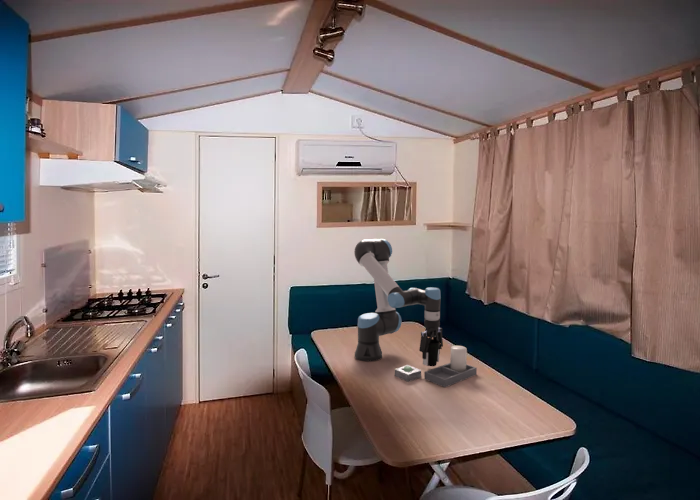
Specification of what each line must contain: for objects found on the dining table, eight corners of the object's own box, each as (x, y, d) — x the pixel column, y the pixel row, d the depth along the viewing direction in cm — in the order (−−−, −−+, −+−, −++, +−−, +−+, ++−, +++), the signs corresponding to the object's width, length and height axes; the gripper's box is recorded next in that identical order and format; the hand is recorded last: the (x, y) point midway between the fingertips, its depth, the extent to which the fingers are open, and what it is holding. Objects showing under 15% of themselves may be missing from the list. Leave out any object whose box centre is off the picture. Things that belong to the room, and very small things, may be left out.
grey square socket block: (394, 376, 201) (394, 369, 201) (407, 371, 207) (407, 364, 206) (408, 381, 194) (408, 374, 194) (421, 377, 200) (421, 370, 199)
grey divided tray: (424, 378, 198) (424, 371, 197) (455, 367, 212) (456, 360, 212) (444, 387, 188) (444, 379, 188) (476, 374, 202) (476, 367, 202)
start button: (402, 374, 201) (402, 367, 200) (407, 372, 203) (407, 365, 203) (407, 376, 198) (407, 369, 197) (413, 375, 200) (413, 367, 200)
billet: (447, 371, 204) (447, 347, 203) (456, 367, 209) (457, 344, 208) (459, 376, 198) (460, 351, 197) (469, 372, 203) (470, 348, 202)
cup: (438, 367, 205) (439, 344, 204) (422, 366, 207) (423, 343, 205) (438, 362, 213) (439, 339, 211) (423, 360, 214) (424, 338, 213)
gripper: (423, 324, 198) (422, 370, 200) (451, 317, 210) (449, 360, 213) (412, 320, 204) (411, 365, 206) (439, 314, 216) (438, 356, 219)
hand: (430, 362), depth 210 cm, fingers closed on cup, 8 cm apart
